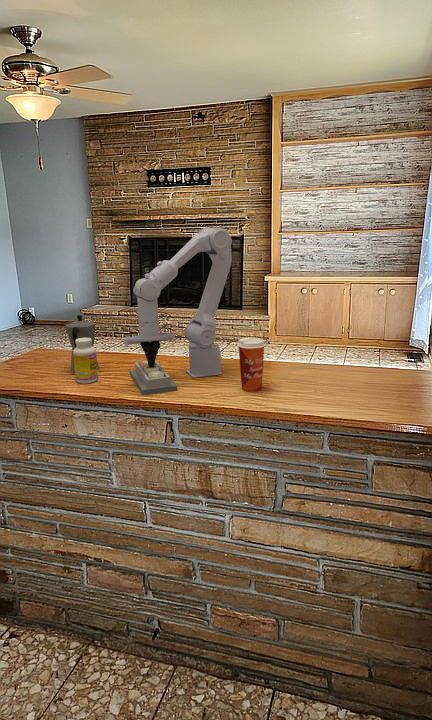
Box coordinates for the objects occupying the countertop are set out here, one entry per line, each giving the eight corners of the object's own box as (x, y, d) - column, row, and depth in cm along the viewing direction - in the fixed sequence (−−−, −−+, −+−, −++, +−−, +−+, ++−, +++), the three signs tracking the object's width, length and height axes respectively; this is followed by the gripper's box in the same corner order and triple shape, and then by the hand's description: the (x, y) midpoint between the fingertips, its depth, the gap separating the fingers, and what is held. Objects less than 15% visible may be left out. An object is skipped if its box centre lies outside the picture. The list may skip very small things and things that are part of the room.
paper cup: (247, 394, 140) (246, 345, 136) (233, 386, 146) (232, 339, 142) (271, 389, 143) (271, 341, 139) (256, 382, 150) (256, 335, 146)
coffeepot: (75, 364, 173) (69, 311, 168) (103, 363, 173) (98, 310, 168) (63, 378, 158) (56, 321, 153) (93, 377, 158) (88, 320, 153)
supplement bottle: (93, 384, 152) (88, 342, 148) (72, 383, 153) (67, 342, 149) (102, 377, 158) (98, 337, 154) (82, 376, 159) (78, 336, 156)
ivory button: (157, 373, 154) (157, 363, 154) (161, 377, 150) (160, 367, 150) (143, 375, 153) (142, 365, 152) (146, 379, 149) (145, 369, 148)
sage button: (162, 380, 149) (161, 369, 148) (165, 384, 145) (165, 373, 144) (147, 381, 148) (146, 371, 147) (150, 386, 144) (149, 375, 143)
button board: (161, 370, 163) (160, 358, 162) (177, 390, 145) (176, 377, 144) (129, 374, 160) (129, 362, 159) (142, 395, 142) (141, 381, 140)
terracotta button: (153, 368, 160) (153, 358, 159) (156, 372, 156) (156, 362, 155) (139, 370, 159) (138, 360, 158) (142, 374, 155) (141, 364, 154)
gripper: (169, 316, 153) (172, 360, 157) (121, 320, 148) (124, 365, 152) (175, 320, 146) (177, 366, 150) (125, 325, 142) (128, 372, 146)
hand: (151, 366), depth 151 cm, fingers closed, pressing on ivory button
